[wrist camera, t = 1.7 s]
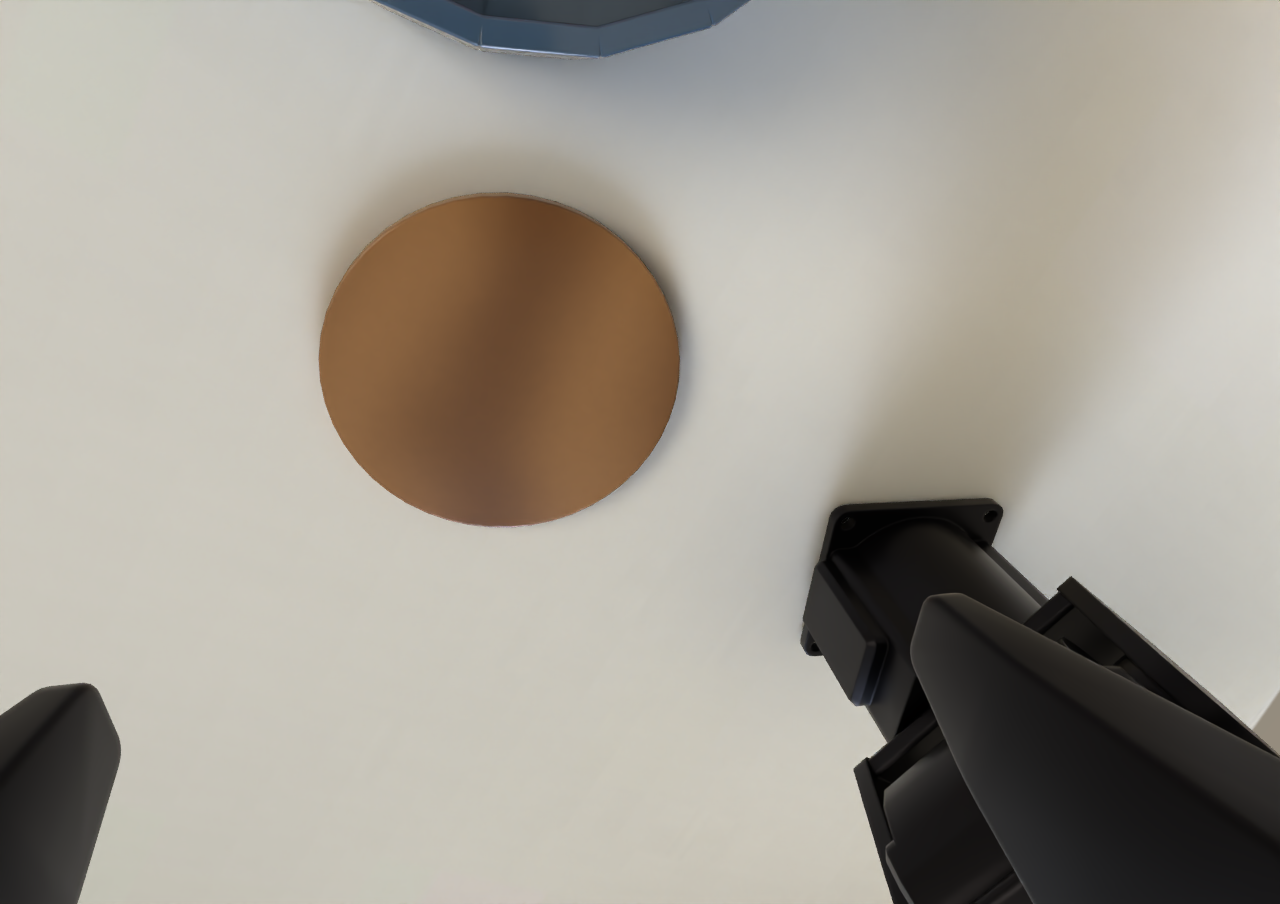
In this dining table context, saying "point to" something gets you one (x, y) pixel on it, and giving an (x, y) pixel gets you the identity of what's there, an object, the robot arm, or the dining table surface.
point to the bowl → (563, 23)
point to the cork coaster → (499, 360)
